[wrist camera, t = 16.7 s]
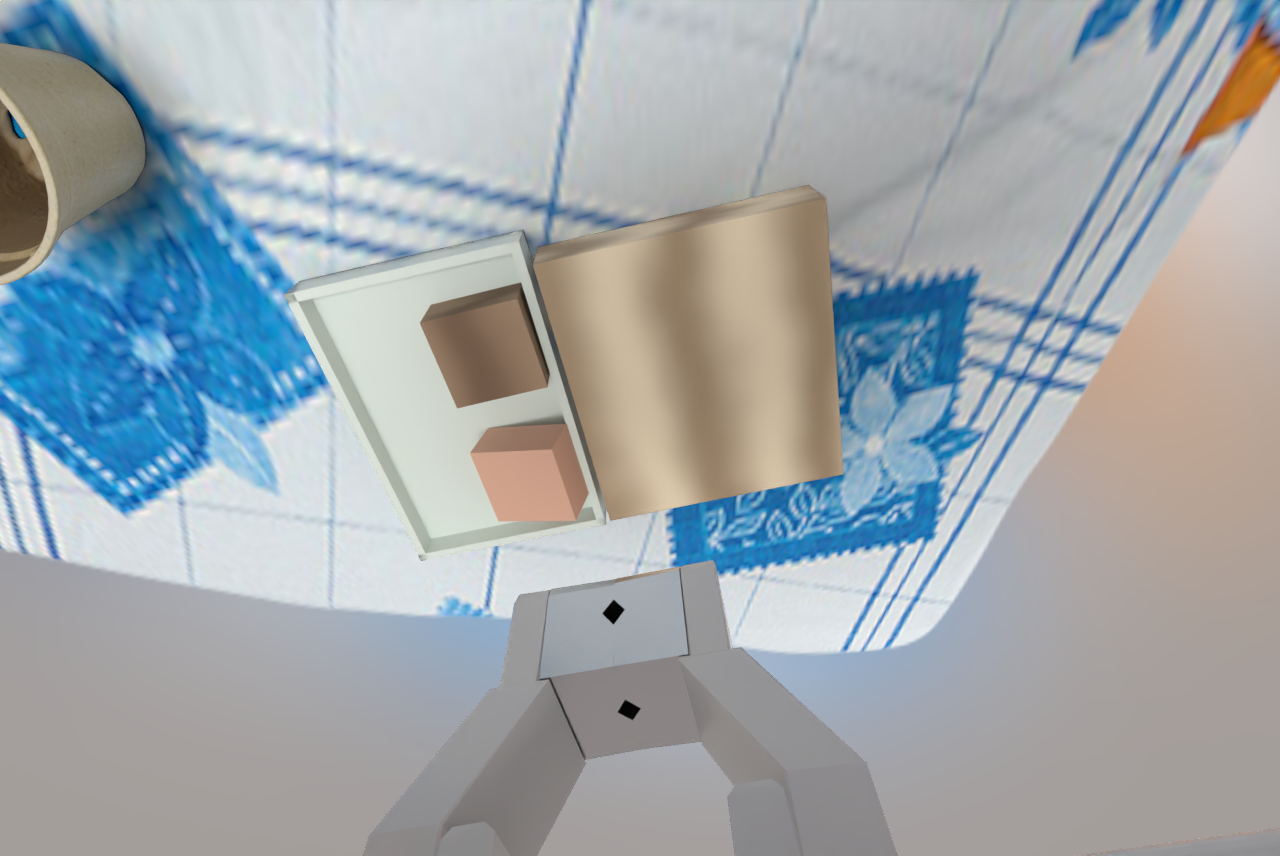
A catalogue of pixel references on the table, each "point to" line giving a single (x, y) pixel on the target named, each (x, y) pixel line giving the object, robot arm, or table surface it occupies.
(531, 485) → the terracotta tile
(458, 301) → the walnut tile
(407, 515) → the tray
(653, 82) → the table surface
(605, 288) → the board
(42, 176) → the flower pot
